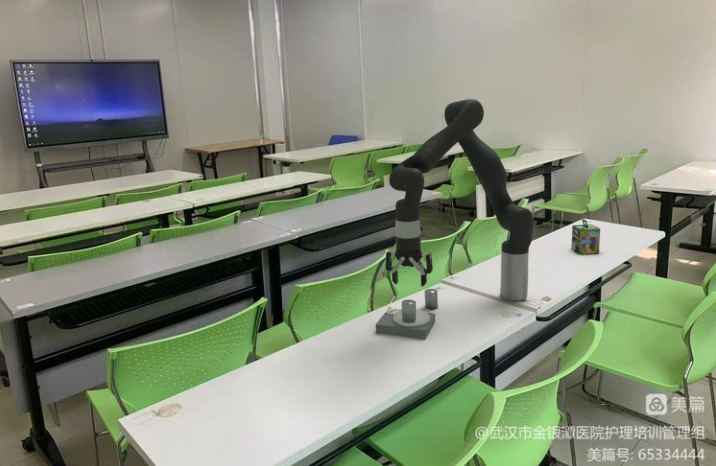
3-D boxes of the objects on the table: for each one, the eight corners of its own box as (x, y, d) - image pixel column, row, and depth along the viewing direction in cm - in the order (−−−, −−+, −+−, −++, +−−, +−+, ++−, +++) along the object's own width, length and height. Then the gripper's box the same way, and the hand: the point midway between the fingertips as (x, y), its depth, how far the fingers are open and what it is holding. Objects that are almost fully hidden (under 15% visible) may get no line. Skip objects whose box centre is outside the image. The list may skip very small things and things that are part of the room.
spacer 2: (438, 305, 186) (438, 289, 185) (437, 309, 182) (436, 293, 181) (426, 304, 187) (425, 288, 186) (424, 309, 183) (423, 293, 182)
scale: (435, 321, 173) (435, 310, 172) (425, 339, 161) (425, 327, 160) (388, 316, 179) (388, 305, 178) (376, 333, 167) (375, 321, 166)
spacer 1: (417, 318, 167) (417, 300, 165) (414, 323, 163) (413, 305, 162) (404, 316, 169) (403, 298, 167) (400, 322, 165) (399, 304, 163)
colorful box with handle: (599, 254, 233) (601, 221, 229) (578, 255, 233) (580, 222, 229) (590, 248, 242) (592, 216, 238) (570, 248, 242) (572, 217, 238)
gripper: (434, 231, 160) (434, 282, 164) (389, 229, 165) (391, 278, 169) (428, 238, 153) (429, 290, 157) (381, 236, 158) (383, 286, 162)
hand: (409, 284), depth 163 cm, fingers open, 8 cm apart
